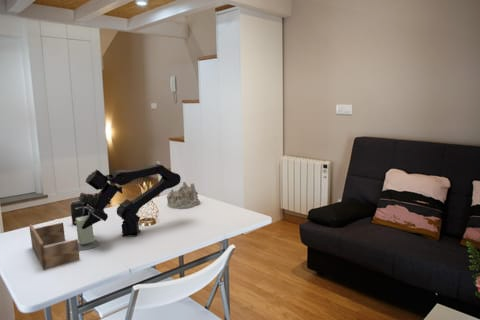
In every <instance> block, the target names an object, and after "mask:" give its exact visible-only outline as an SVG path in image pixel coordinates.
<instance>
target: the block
mask: <svg viewBox="0 0 480 320" xmlns="http://www.w3.org/2000/svg"><path fill="white" fill-rule="evenodd" d="M87 218H88V216H83V217H79V218H76V225H75V226H76V232H77V233H76V234H77V240H78V242H80V243H81V245H82V244H86V243H89V242H93V241H94V240H95V235H94V231H93V229H94V228H93V225H91V226H89V227H87V228H85V229H82V226H83V224H84V223H85V221H86V219H87Z"/></svg>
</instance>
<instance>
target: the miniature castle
mask: <svg viewBox="0 0 480 320" xmlns="http://www.w3.org/2000/svg"><path fill="white" fill-rule="evenodd" d="M195 187H196V186H195V183H194V182H191V183H190V186H188V184H187V183H186V181H183V183H182V186H180V187H179V189H178V190H175V191H174V189H171V190H170V191H168V194H167V195H166V199H167V205H166V206H167V207H168V208H170V209H174V210H175V209H177V210H189V209H192V208H194V207H197V206H199V205H200V204H201V201H200V199H199V198H198V197H199V196H198V192H197V191H196V188H195Z"/></svg>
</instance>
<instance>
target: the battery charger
mask: <svg viewBox="0 0 480 320" xmlns="http://www.w3.org/2000/svg"><path fill="white" fill-rule="evenodd" d="M81 203H82V202H80V200H79V199H78V200H73V201H71V202H70V203H69V210H70V211H69V212H70V216H71V217H70V218H71V224H72V225H74V226H76V218H79V217H82V214H83V208H82V206H83V207H85V206H84V205H82V204H81Z"/></svg>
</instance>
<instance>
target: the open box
mask: <svg viewBox="0 0 480 320" xmlns="http://www.w3.org/2000/svg"><path fill="white" fill-rule="evenodd" d="M28 228H29V232H30V233H29V234H30V241H31V248H32V250H33V252H34V254H35V255H36V257H37V260H38V262H39V264H40V265H41V268H42V270H47V269H51V268H55V267H58V266H61V265H62V266H63V265H65V264H69V263H73V262H76V261H79V260H80V259H81V257H80V250H79V248H78V242H79V241H78V238H77V239H73V240H68V241H66V235H65V228H64V222H58V223H54V224H53V223H52V224H49V225H44V226H41V227H35V226H34V225H33V224H29V227H28Z"/></svg>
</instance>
